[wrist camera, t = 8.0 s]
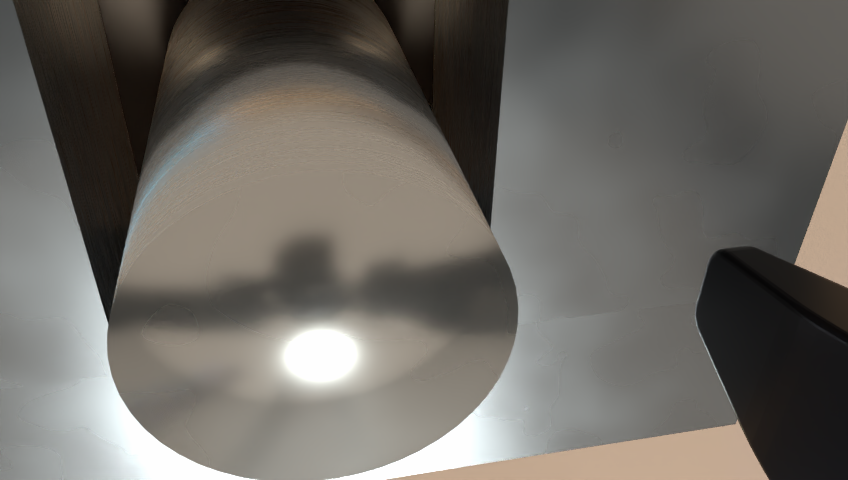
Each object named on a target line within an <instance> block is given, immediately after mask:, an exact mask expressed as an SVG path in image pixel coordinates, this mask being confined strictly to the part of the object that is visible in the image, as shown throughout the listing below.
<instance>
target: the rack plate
mask: <svg viewBox="0 0 848 480" xmlns="http://www.w3.org/2000/svg"><path fill="white" fill-rule="evenodd" d="M432 112H433V114H434V116H435V118H436V120H437V122H438V124H439V126H440V128H441V130H442V132H443V134H444V136H445V138H446V140H447V142H448V144H449V146H450V148H451V150H452V152H453V154H454V156H455V158H456V160H457V162H458V164H459V166H460V168H461V170H462V172H463V174H464V176H465V178H466V180H467V182H468V184H469V187H470V189H471V191H472V193H473V195H474V197H475V199H476V201H477V203H478V205H479V207H480V209H481V211H482V213H483V215H484V217H485V219H486V221H487V223H488V225H489V227H490V229H491V231H492V233H493V235H494V237H495V239H496V241H497V243H498V245H499V247H500V249H501V251H502V253H503V255H504V257H505V259H506V261H507V263H508V265H509V267H510V270H511V273H512V276H513V280H514V283H515V286H516V292H517V299H518V327H517V332H516V337H515V342H514V346H513V349H512V351H511V354H510V357H509V360H508V362H507V364H506V366H505V368H504V370H503V372H502V374H501V376H500V378H499V380H498V381H497V383H496V384H495V385H494V387H493V388H492V390H491V391H490V393H489V394H488V395H487V397H486V398H485V399H484V400H483V401H482V402H481V404H480V405H479V406H478V407H477V408H476V409H475V410H474V411H473V413H471V414H470V415H469V416H468V417H467V418H466V419H465V420H464V421H463V422H461V423H460V424H459V425H458V426H457V427H456V428H454V429H453V430H452V431H450V432H449V433H447V434H446V435H445V436H443V437H442V438H441V439H439V440H438V441H436V442H434V443H432V444H431V445H429V446H427V447H426V448H424V449H422V450H421V451H419V452H417V453H415V454H413V455H410V456H408V457H406V458H404V459H402V460H400V461H397V462H395V463H392V464H389V465H387V466H384V467H381V468H379V469H375V470H372V471H368V472H365V473H361V474H358V475H353V476H348V477H343V478H338V479H331V480H382V479H389V478H395V477H401V476H408V475H414V474H420V473H427V472H433V471H439V470H446V469H452V468H459V467H465V466H471V465H478V464H484V463H490V462H497V461H503V460H509V459H516V458H522V457H529V456H535V455H541V454H548V453H554V452H560V451H567V450H573V449H579V448H586V447H592V446H599V445H605V444H611V443H618V442H624V441H630V440H637V439H643V438H649V437H656V436H662V435H669V434H675V433H681V432H688V431H694V430H700V429H707V428H713V427H719V426H726V425H732V424H736V421H737V417H736V414H735V412H734V410H733V408H732V405H731V403H730V401H729V399H728V397H727V394H726V392H725V390H724V388H723V385H722V383H721V381H720V379H719V376H718V374H717V372H716V370H715V367H714V365H713V363H712V361H711V358H710V356H709V354H708V352H707V349H706V347H705V345H704V343H703V340H702V338H701V336H700V334H699V331H698V328H697V325H696V321H695V307H696V303H697V299H698V296H699V292H700V289H701V285H702V282H703V278H704V275H705V271H706V268H707V264H708V261H709V259H710V257H711V256H712V254H713V253H714V252H715V251H717V250H720V249H725V248H734V247H743V246H751V247H755V248H758V249H760V250H762V251H765V252H767V253H769V254H772V255H774V256H776V257H778V258H781V259H783V260H785V261H787V262H790V263H792V264H795V261H796V258H797V256H798V253H799V250H800V247H801V245H802V242H803V239H804V237H805V234H806V231H807V228H808V226H809V223H810V220H811V218H812V215H813V212H814V210H815V207H816V204H817V201H818V199H819V196H820V193H821V191H822V188H823V185H824V182H825V180H826V177H827V174H828V172H829V169H830V166H831V163H832V161H833V158H834V155H835V153H836V150H837V147H838V144H839V142H840V139H841V136H842V134H843V131H844V128H845V125H846V123H847V120H848V0H435V24H434V65H433V106H432ZM138 183H139V178H138V173H137V169H136V165H135V160H134V156H133V152H132V147H131V143H130V139H129V134H128V130H127V126H126V121H125V117H124V113H123V108H122V104H121V100H120V95H119V91H118V87H117V82H116V78H115V74H114V69H113V65H112V61H111V56H110V52H109V48H108V43H107V39H106V35H105V30H104V26H103V22H102V17H101V13H100V9H99V4H98V0H0V480H255V479H248V478H242V477H238V476H234V475H230V474H226V473H222V472H218V471H216V470H213V469H210V468H207V467H204V466H202V465H199V464H197V463H195V462H193V461H191V460H189V459H187V458H185V457H183V456H181V455H179V454H177V453H175V452H174V451H172V450H171V449H169V448H168V447H166V446H165V445H163V444H162V443H160V442H159V441H158V440H157V439H156V438H154V437H153V436H152V435H151V434H150V433H149V432H147V431H146V430H145V429H144V428H143V427H142V426H141V424H140V423H139V422H138V421H137V420H136V419H135V418H134V416H133V415H132V414H131V413H130V411H129V410H128V408H127V407H126V405H125V403H124V402H123V400H122V399H121V397H120V395H119V393H118V391H117V388H116V386H115V383H114V381H113V378H112V375H111V371H110V366H109V361H108V356H107V331H108V325H109V319H110V313H111V308H112V303H113V299H114V294H115V289H116V285H117V280H118V276H119V271H120V266H121V262H122V257H123V252H124V248H125V243H126V238H127V234H128V229H129V224H130V220H131V215H132V210H133V206H134V201H135V196H136V192H137V187H138Z"/></svg>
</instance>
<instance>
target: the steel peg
mask: <svg viewBox="0 0 848 480" xmlns="http://www.w3.org/2000/svg"><path fill="white" fill-rule="evenodd" d="M517 327H518V299H517V292H516V286H515V283H514V280H513V276H512V273H511V270H510V267H509V265H508V263H507V261H506V259H505V257H504V255H503V253H502V251H501V249H500V247H499V245H498V243H497V241H496V239H495V237H494V235H493V233H492V231H491V229H490V227H489V225H488V223H487V221H486V219H485V217H484V215H483V213H482V211H481V209H480V207H479V205H478V203H477V201H476V199H475V197H474V195H473V193H472V191H471V189H470V187H469V184H468V182H467V180H466V178H465V176H464V174H463V172H462V170H461V168H460V166H459V164H458V162H457V160H456V158H455V156H454V154H453V152H452V150H451V148H450V146H449V144H448V142H447V140H446V138H445V136H444V134H443V132H442V130H441V128H440V126H439V124H438V122H437V120H436V118H435V116H434V114H433V112H432V110H431V108H430V106H429V104H428V102H427V100H426V98H425V96H424V94H423V92H422V90H421V88H420V86H419V84H418V82H417V80H416V78H415V76H414V74H413V72H412V70H411V68H410V65H409V63H408V61H407V59H406V57H405V55H404V53H403V51H402V49H401V47H400V45H399V43H398V41H397V39H396V37H395V35H394V33H393V31H392V29H391V27H390V25H389V23H388V21H387V19H386V18H385V16H384V14H383V13H382V11H381V10H380V9H379V7H378V6H377V4H376V3H375V2H374V1H373V0H189V2H188V3H187V4H186V6H185V7H184V9H183V10H182V11H181V13H180V15H179V17H178V19H177V21H176V23H175V25H174V27H173V30H172V33H171V36H170V39H169V43H168V48H167V52H166V57H165V62H164V66H163V71H162V76H161V80H160V85H159V90H158V94H157V99H156V104H155V108H154V113H153V117H152V122H151V127H150V131H149V136H148V141H147V145H146V150H145V155H144V159H143V164H142V169H141V173H140V178H139V183H138V187H137V192H136V196H135V201H134V206H133V210H132V215H131V220H130V224H129V229H128V234H127V238H126V243H125V248H124V252H123V257H122V262H121V266H120V271H119V276H118V280H117V285H116V289H115V294H114V299H113V303H112V308H111V313H110V319H109V325H108V331H107V356H108V361H109V366H110V371H111V375H112V378H113V381H114V383H115V386H116V388H117V391H118V393H119V395H120V397H121V399H122V400H123V402H124V403H125V405H126V407H127V408H128V410H129V411H130V413H131V414H132V415H133V416H134V418H135V419H136V420H137V421H138V422H139V423H140V424H141V426H142V427H143V428H144V429H145V430H146V431H147V432H149V433H150V434H151V435H152V436H153V437H154V438H156V439H157V440H158V441H159V442H160V443H162V444H163V445H165V446H166V447H168V448H169V449H171V450H172V451H174V452H175V453H177V454H179V455H181V456H183V457H185V458H187V459H189V460H191V461H193V462H195V463H197V464H199V465H202V466H204V467H207V468H210V469H213V470H216V471H218V472H222V473H226V474H230V475H234V476H238V477H242V478H248V479H255V480H331V479H338V478H343V477H348V476H353V475H358V474H361V473H365V472H368V471H372V470H375V469H379V468H381V467H384V466H387V465H389V464H392V463H395V462H397V461H400V460H402V459H404V458H406V457H408V456H410V455H413V454H415V453H417V452H419V451H421V450H422V449H424V448H426V447H427V446H429V445H431V444H432V443H434V442H436V441H438V440H439V439H441V438H442V437H443V436H445V435H446V434H447V433H449V432H450V431H452V430H453V429H454V428H456V427H457V426H458V425H459V424H460V423H461V422H463V421H464V420H465V419H466V418H467V417H468V416H469V415H470V414H471V413H473V411H474V410H475V409H476V408H477V407H478V406H479V405H480V404H481V402H482V401H483V400H484V399H485V398H486V397H487V395H488V394H489V393H490V391H491V390H492V388H493V387H494V385H495V384H496V383H497V381H498V380H499V378H500V376H501V374H502V372H503V370H504V368H505V366H506V364H507V362H508V360H509V357H510V354H511V351H512V349H513V346H514V342H515V337H516V332H517Z"/></svg>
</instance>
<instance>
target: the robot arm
mask: <svg viewBox="0 0 848 480" xmlns="http://www.w3.org/2000/svg"><path fill="white" fill-rule="evenodd" d="M695 321H696V325H697V328H698V331H699V334H700V336H701V338H702V340H703V343H704V345H705V347H706V349H707V352H708V354H709V356H710V358H711V361H712V363H713V365H714V367H715V370H716V372H717V374H718V376H719V379H720V381H721V383H722V385H723V388H724V390H725V392H726V394H727V397H728V399H729V401H730V403H731V405H732V408H733V410H734V412H735V414H736V417H737V419H738V421H739V423H740V426H741V428H742V430H743V432H744V434H745V436H746V438H747V440H748V442H749V444H750V446H751V448H752V450H753V452H754V454H755V456H756V457H757V459H758V461H759V463H760V465H761V467H762V468H763V470H764V472H765V473H766V475H767V477H768V479H769V480H848V288H846V287H844V286H842V285H840V284H837V283H835V282H833V281H830V280H828V279H826V278H824V277H821V276H819V275H817V274H815V273H812V272H810V271H808V270H806V269H803V268H801V267H799V266H796V265H794V264H792V263H790V262H787V261H785V260H783V259H781V258H778V257H776V256H774V255H772V254H769V253H767V252H765V251H762V250H760V249H758V248H755V247H751V246H743V247H734V248H725V249H720V250H717V251H715V252H714V253H713V254H712V256H711V257H710V259H709V261H708V264H707V268H706V271H705V275H704V278H703V282H702V285H701V289H700V292H699V296H698V299H697V303H696V307H695Z"/></svg>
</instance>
